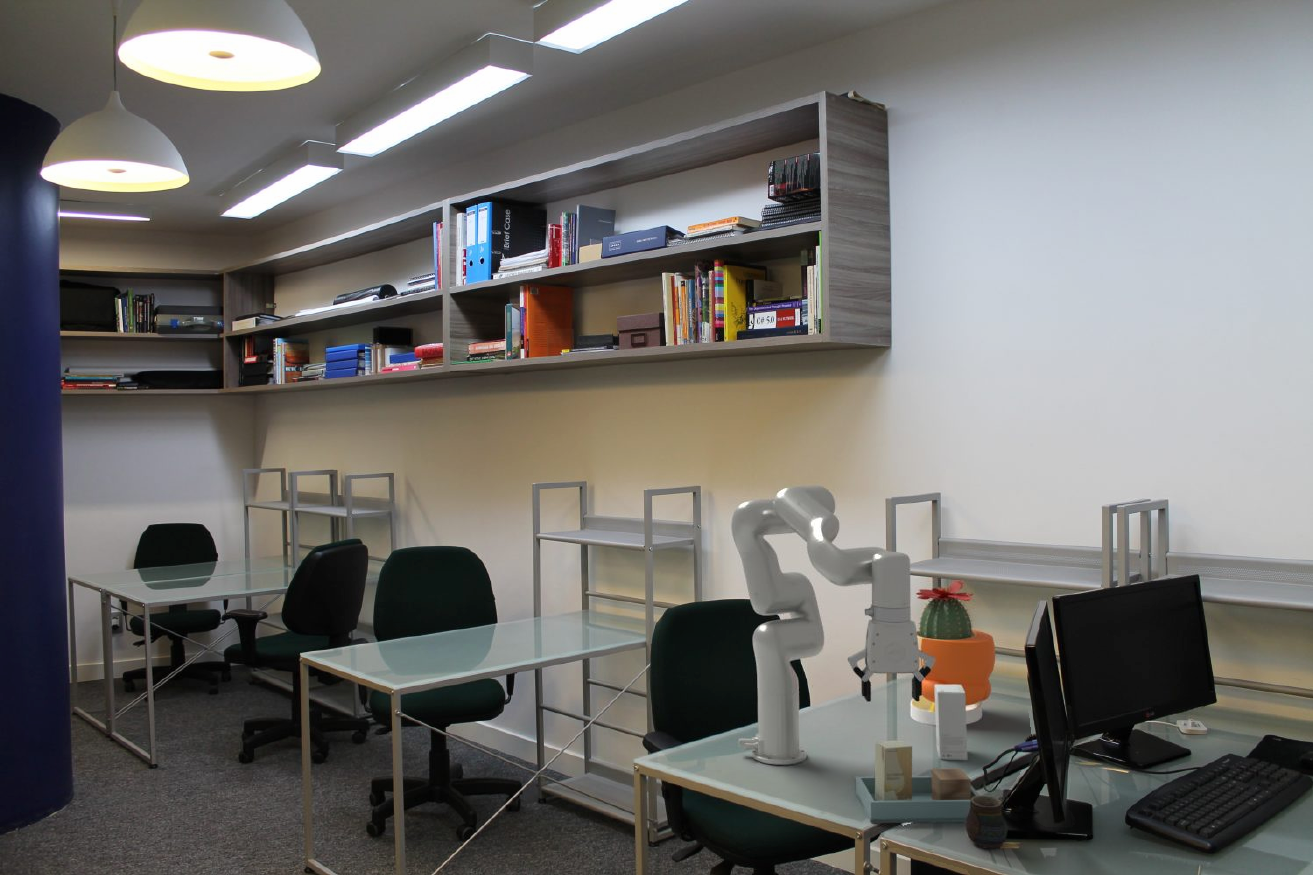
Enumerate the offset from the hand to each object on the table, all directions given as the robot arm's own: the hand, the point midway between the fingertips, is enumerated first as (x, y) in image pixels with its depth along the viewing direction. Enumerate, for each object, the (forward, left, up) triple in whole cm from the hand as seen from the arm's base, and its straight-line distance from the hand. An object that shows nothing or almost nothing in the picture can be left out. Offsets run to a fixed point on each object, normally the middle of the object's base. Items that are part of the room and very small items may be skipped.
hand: (891, 699), depth 194 cm
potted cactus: (+31, +62, -22) cm, 73 cm away
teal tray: (+5, 0, -22) cm, 22 cm away
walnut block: (+12, 0, -21) cm, 24 cm away
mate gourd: (+13, -17, -22) cm, 31 cm away
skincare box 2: (+21, +32, -22) cm, 44 cm away
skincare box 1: (0, 0, -21) cm, 21 cm away
